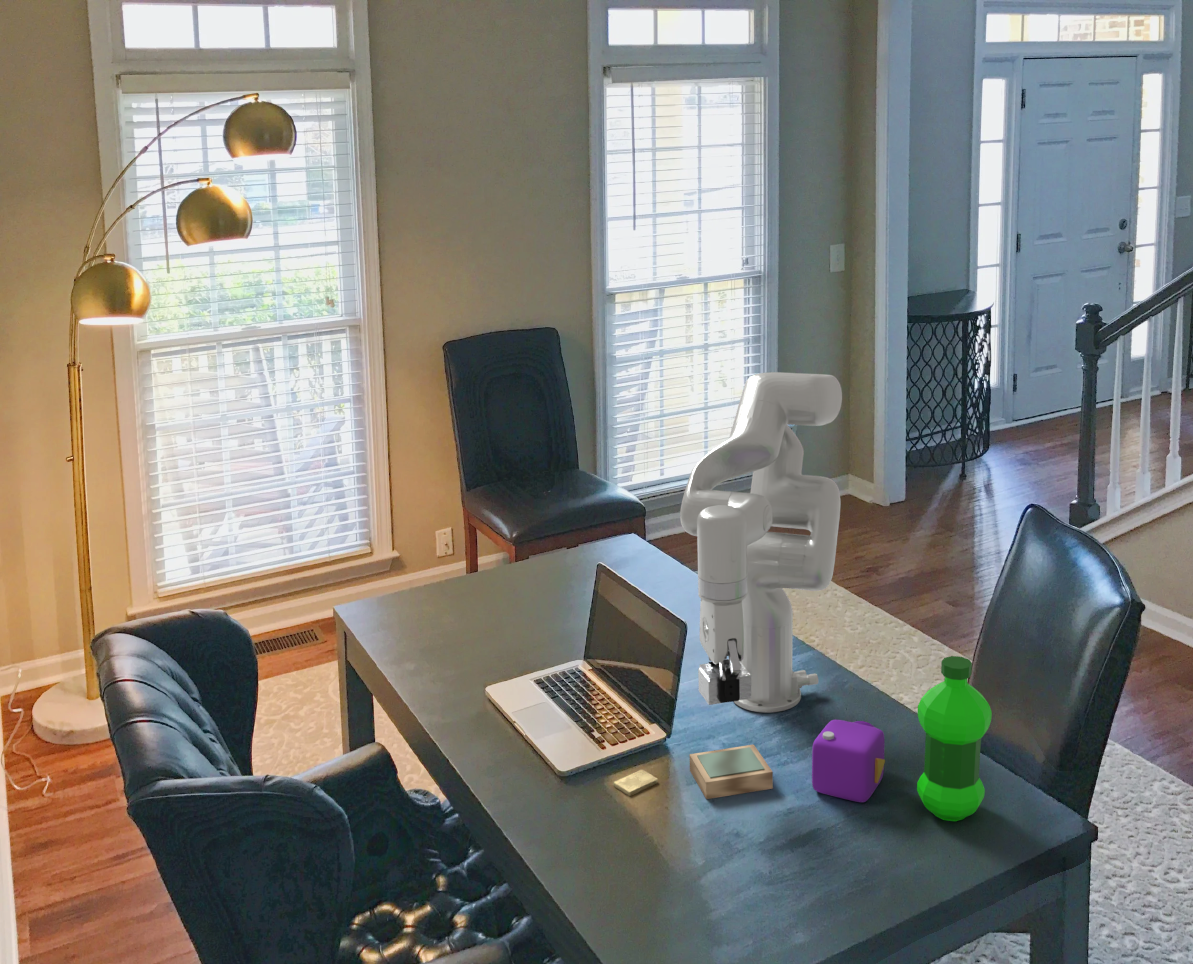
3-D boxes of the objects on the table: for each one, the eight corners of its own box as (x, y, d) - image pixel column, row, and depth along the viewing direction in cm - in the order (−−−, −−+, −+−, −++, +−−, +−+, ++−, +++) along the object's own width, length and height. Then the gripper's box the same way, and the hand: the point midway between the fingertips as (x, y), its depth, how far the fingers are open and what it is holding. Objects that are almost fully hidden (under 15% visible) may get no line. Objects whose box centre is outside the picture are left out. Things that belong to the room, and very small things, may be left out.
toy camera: (889, 764, 208) (891, 709, 204) (879, 809, 195) (880, 751, 192) (823, 756, 211) (824, 701, 208) (808, 799, 199) (809, 742, 196)
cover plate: (642, 775, 208) (641, 769, 208) (658, 785, 205) (657, 778, 205) (613, 788, 205) (613, 782, 205) (629, 798, 202) (629, 792, 202)
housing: (708, 705, 198) (708, 675, 197) (698, 691, 203) (698, 662, 201) (751, 698, 200) (751, 669, 198) (740, 684, 204) (739, 656, 203)
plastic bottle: (941, 786, 201) (947, 641, 193) (998, 813, 193) (1008, 663, 185) (900, 810, 195) (905, 661, 187) (958, 839, 187) (966, 685, 179)
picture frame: (753, 760, 210) (753, 743, 209) (772, 788, 202) (772, 770, 201) (689, 770, 208) (689, 753, 207) (706, 799, 200) (705, 781, 199)
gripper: (685, 568, 203) (687, 671, 209) (713, 609, 187) (715, 720, 192) (731, 563, 204) (732, 666, 210) (762, 604, 188) (763, 714, 194)
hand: (724, 691), depth 201 cm, fingers closed on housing, 5 cm apart
